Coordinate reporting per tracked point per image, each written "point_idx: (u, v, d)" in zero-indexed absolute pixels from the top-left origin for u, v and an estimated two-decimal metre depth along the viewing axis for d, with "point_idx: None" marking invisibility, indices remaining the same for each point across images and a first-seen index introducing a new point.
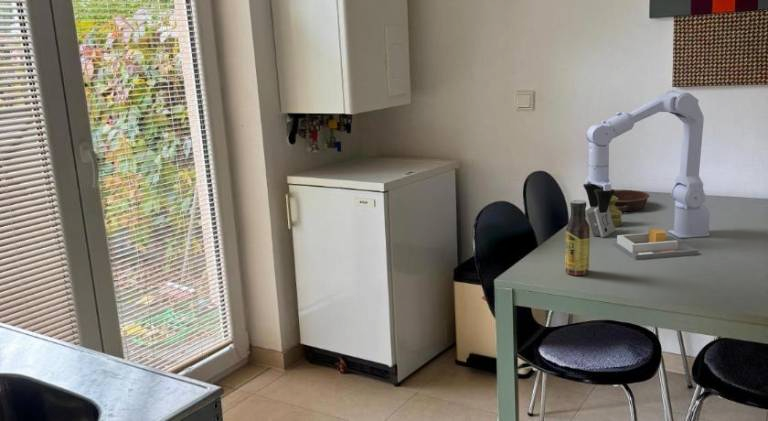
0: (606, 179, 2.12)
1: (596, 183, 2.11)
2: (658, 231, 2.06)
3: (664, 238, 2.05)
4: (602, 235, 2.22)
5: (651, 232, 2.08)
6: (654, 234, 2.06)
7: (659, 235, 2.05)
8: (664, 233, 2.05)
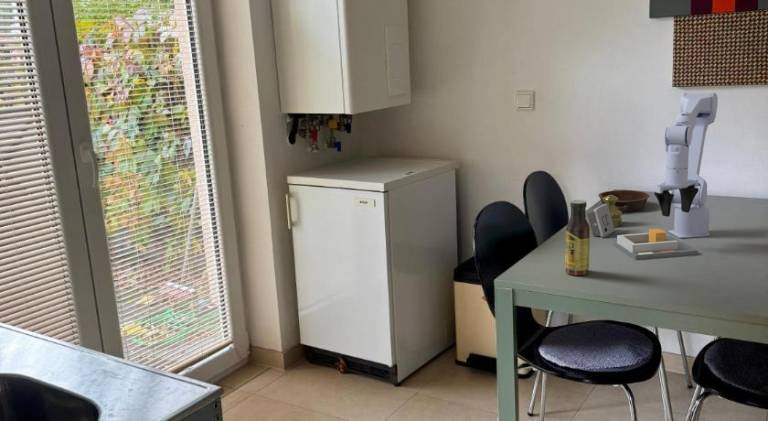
0: (674, 183, 2.03)
1: None
2: (658, 231, 2.06)
3: (664, 238, 2.05)
4: (602, 235, 2.22)
5: (651, 232, 2.08)
6: (654, 234, 2.06)
7: (659, 235, 2.05)
8: (664, 233, 2.05)
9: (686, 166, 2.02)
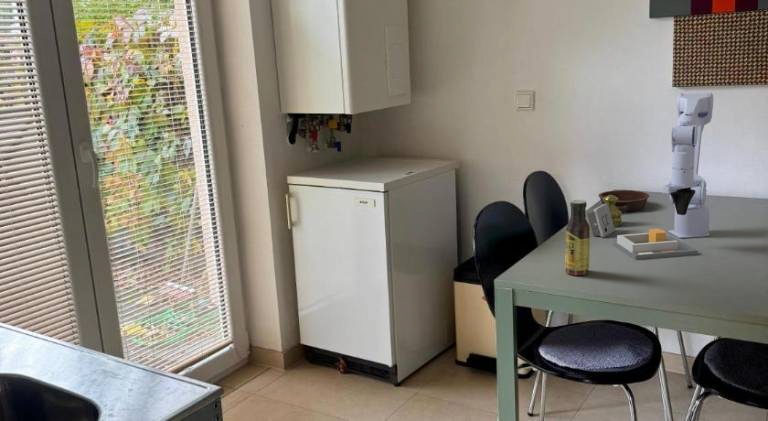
0: (681, 183, 2.02)
1: None
2: (658, 231, 2.06)
3: (664, 238, 2.05)
4: (602, 235, 2.22)
5: (651, 232, 2.08)
6: (654, 234, 2.06)
7: (659, 235, 2.05)
8: (664, 233, 2.05)
9: (692, 166, 2.01)
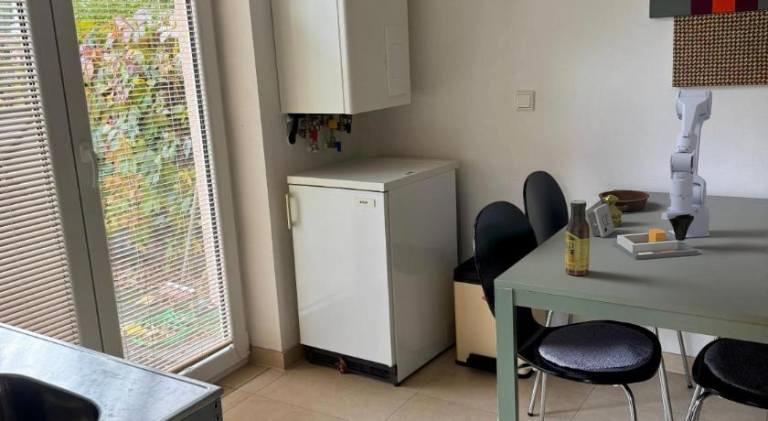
0: (680, 209, 2.04)
1: None
2: (658, 231, 2.06)
3: (664, 238, 2.05)
4: (602, 235, 2.22)
5: (651, 232, 2.08)
6: (654, 234, 2.06)
7: (659, 235, 2.05)
8: (664, 233, 2.05)
9: (691, 193, 2.03)
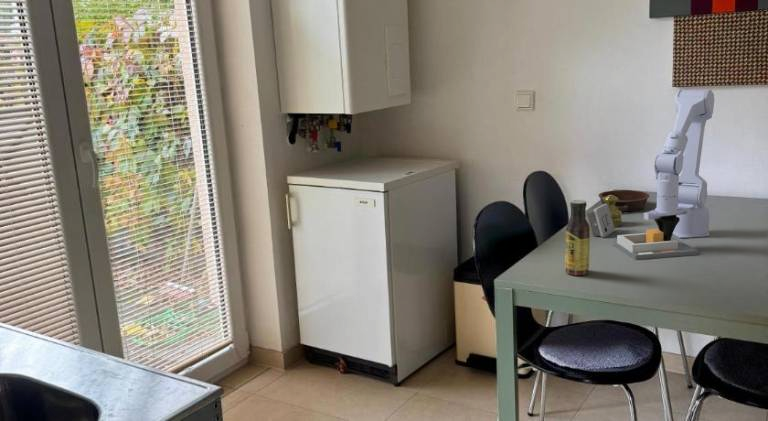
0: (663, 210, 2.04)
1: None
2: (655, 231, 2.06)
3: (661, 238, 2.05)
4: (602, 235, 2.22)
5: (648, 232, 2.08)
6: (651, 234, 2.06)
7: (656, 235, 2.05)
8: (661, 233, 2.05)
9: (675, 194, 2.02)
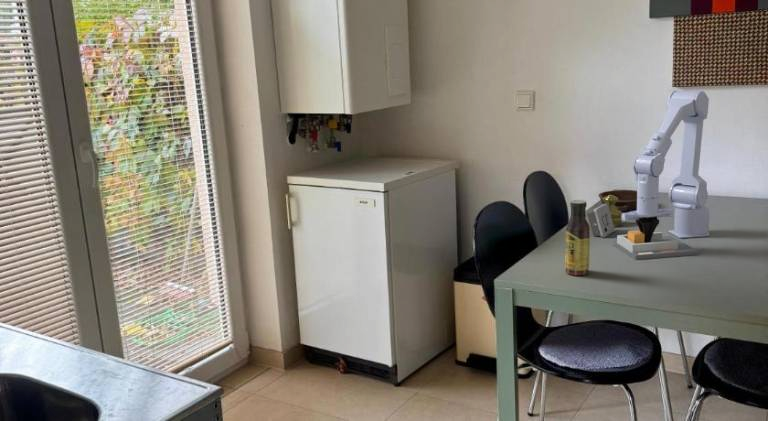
0: (641, 212, 2.04)
1: None
2: (637, 233, 2.06)
3: (642, 240, 2.05)
4: (602, 235, 2.22)
5: (630, 234, 2.07)
6: (632, 236, 2.05)
7: (637, 237, 2.04)
8: (642, 235, 2.05)
9: (654, 196, 2.02)
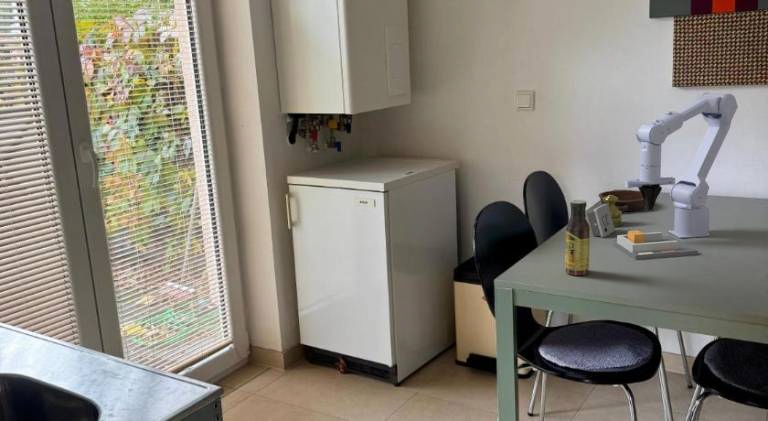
0: (644, 179, 2.10)
1: None
2: (637, 233, 2.06)
3: (642, 240, 2.05)
4: (602, 235, 2.22)
5: (630, 234, 2.07)
6: (632, 236, 2.05)
7: (637, 237, 2.04)
8: (642, 235, 2.05)
9: (654, 164, 2.08)
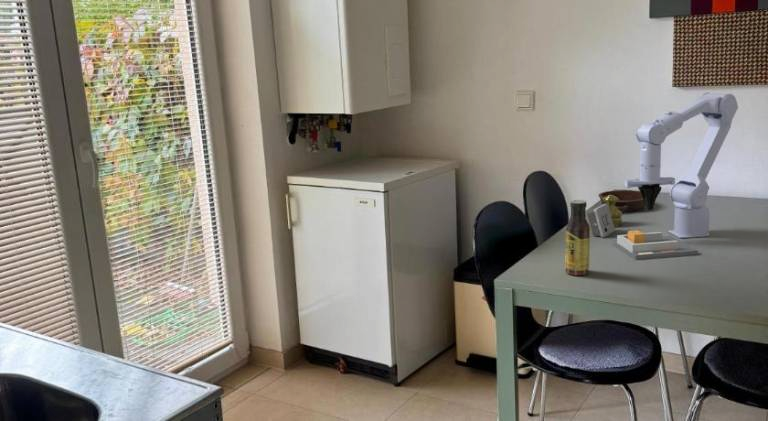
0: (644, 179, 2.10)
1: None
2: (637, 233, 2.06)
3: (642, 240, 2.05)
4: (602, 235, 2.22)
5: (630, 234, 2.07)
6: (632, 236, 2.05)
7: (637, 237, 2.04)
8: (642, 235, 2.05)
9: (654, 164, 2.08)
